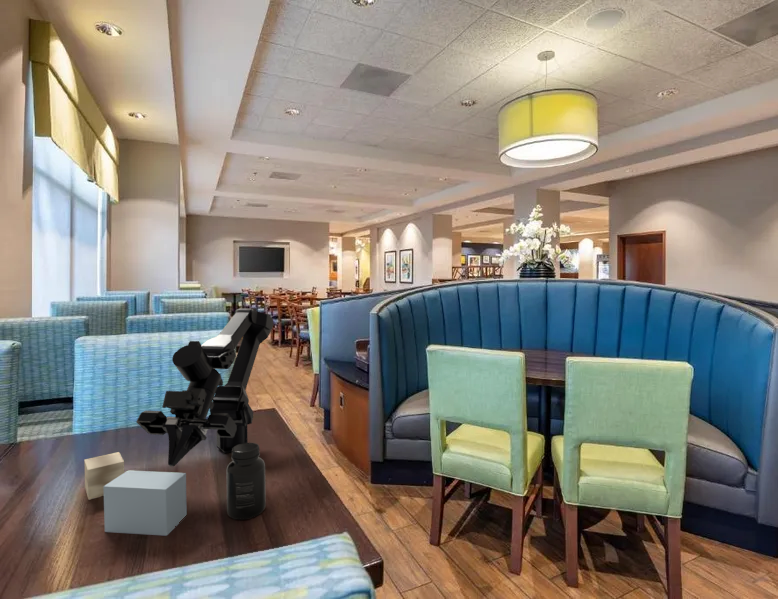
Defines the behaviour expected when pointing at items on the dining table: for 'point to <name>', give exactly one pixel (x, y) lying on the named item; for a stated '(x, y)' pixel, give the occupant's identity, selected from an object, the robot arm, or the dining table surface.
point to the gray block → (145, 502)
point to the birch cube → (101, 473)
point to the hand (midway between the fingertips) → (170, 465)
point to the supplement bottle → (245, 482)
